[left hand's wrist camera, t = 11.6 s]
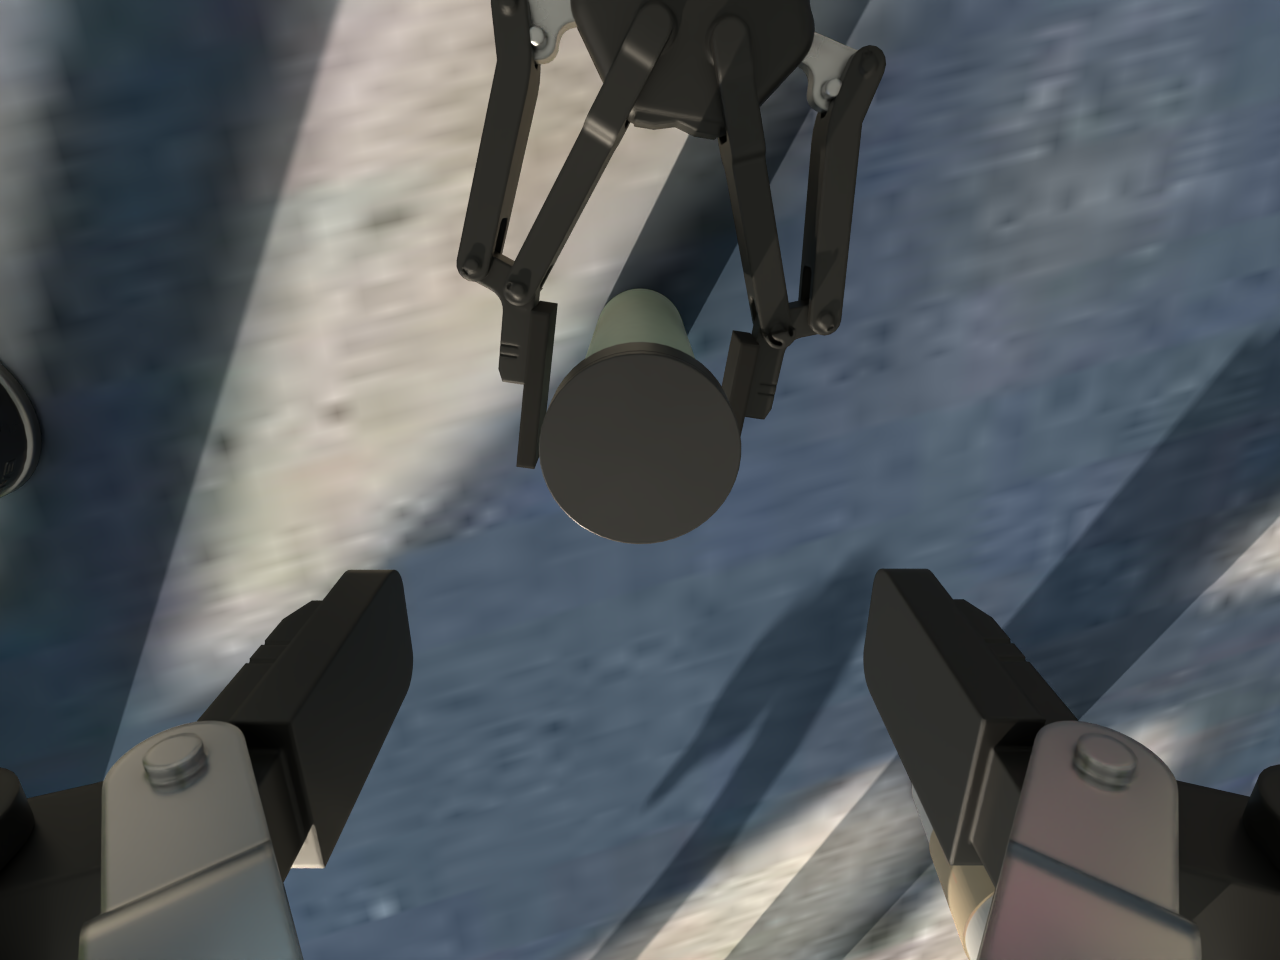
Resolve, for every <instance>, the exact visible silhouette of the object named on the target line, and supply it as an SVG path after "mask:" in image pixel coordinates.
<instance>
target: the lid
mask: <svg viewBox="0 0 1280 960" xmlns="http://www.w3.org/2000/svg"><path fill="white" fill-rule="evenodd" d="M539 457H540V465H541V469H542V473H543V477H544V479H545V482H546V484H547V487H548V489H549V491H550V492H551V494H552V496H553V498H554V499H555V501H556V502H557V503H558V505H559V506H560V507H561V509H562V510H563V511H564V512H565V513H566V514H567V515H568V516H569V517H570V518H571V519H573V520H574V521H575V522H576V523H578V524H579V525H580V526H582V527H584V528H585V529H587V530H588V531H590V532H592V533H594V534H597V535H599V536H601V537H604V538H607V539H610V540H613V541H618V542H623V543H631V544H651V543H657V542H663V541H667V540H670V539H674V538H677V537H679V536H681V535H684V534H686V533H688V532H690V531H692V530H693V529H695V528H697V527H698V526H700V525H701V524H702V523H704V522H705V521H706V520H708V519H709V518H710V517H711V516H712V515H713V514H714V513H715V512H716V511H717V510H718V509H719V507H720V506H721V505H722V504H723V502H724V501H725V499H726V498H727V496H728V495H729V493H730V491H731V489H732V487H733V485H734V483H735V480H736V477H737V474H738V470H739V466H740V459H741V438H740V431H739V427H738V423H737V420H736V417H735V415H734V412H733V410H732V408H731V405H730V403H729V401H728V398H727V396H726V394H725V392H724V390H723V388H722V387H721V385H720V383H719V382H718V380H717V379H716V378H715V377H714V376H713V374H712V373H711V372H710V371H709V370H708V369H707V368H706V367H705V366H704V365H703V364H702V363H700V362H699V361H697V360H696V359H695V358H693V357H692V356H690V355H688V354H686V353H684V352H682V351H681V350H678V349H675V348H673V347H670V346H667V345H662V344H658V343H650V342H629V343H623V344H617V345H614V346H611V347H607V348H604V349H602V350H600V351H598V352H596V353H594V354H592V355H590V356H589V357H587V358H586V359H584V360H583V361H581V362H580V363H579V364H578V365H577V366H575V367H574V368H573V369H572V370H571V371H570V372H569V373H568V375H567V376H566V377H565V378H564V379H563V381H562V382H561V384H560V385H559V387H558V388H557V390H556V392H555V394H554V396H553V399H552V401H551V403H550V405H549V408H548V410H547V412H546V415H545V418H544V421H543V424H542V427H541V433H540V438H539Z"/></svg>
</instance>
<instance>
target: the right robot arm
mask: <svg viewBox="0 0 1280 960" xmlns="http://www.w3.org/2000/svg"><path fill="white" fill-rule="evenodd" d="M491 8H492V17H493V26H494V36H495V45H496V54H497V64H496V69H495V74H494V79H493V84H492V88H491V93H490V98H489V103H488V108H487V113H486V118H485V123H484V128H483V133H482V138H481V143H480V148H479V153H478V158H477V163H476V168H475V173H474V178H473V183H472V187H471V192H470V197H469V202H468V207H467V212H466V217H465V222H464V227H463V232H462V237H461V242H460V247H459V252H458V257H457V269H458V271H459V273H460V275H461V276H462V277H463V278H465V279H467V280H468V281H475V282H477V283H479V284H481V285H483V286H485V287H486V288H488V289H490V290H492V291H493V292H495V293H496V294H497V295H498V297H499V298H500V300H501V302H502V306H503V317H502V331H501V345H500V357H499V372H500V375H501V378H502V381H503V382H509V383H516V384H523V385H524V389H523V400H522V411H521V422H520V433H519V444H518V455H517V466H516V467H523V468H531V469H534V468H535V466H536V463H537V461H538V458H539V438H540V433H541V427H542V424H543V421H544V418H545V415H546V410H547V401H548V391H549V381H550V372H551V362H552V353H553V343H554V334H555V324H556V315H557V305H558V303H551V302H544V301H539V296H540V291H541V290H542V289H543V288H542V287H543V285H544V283H545V281H546V279H547V277H548V275H549V273H550V271H551V270H552V268H553V266H554V264H555V262H556V260H557V258H558V256H559V255H560V253H561V251H562V249H563V247H564V245H565V243H566V241H567V239H568V238H569V236H570V234H571V232H572V230H573V228H574V226H575V224H576V222H577V221H578V219H579V217H580V215H581V213H582V211H583V209H584V207H585V206H586V204H587V202H588V200H589V198H590V196H591V194H592V192H593V190H594V189H595V187H596V185H597V183H598V181H599V179H600V177H601V175H602V173H603V172H604V170H605V168H606V166H607V164H608V162H609V160H610V158H611V156H612V155H613V153H614V151H615V149H616V148H617V146H618V145H619V143H620V141H621V139H622V137H623V135H624V134H625V132H626V130H627V128H628V126H629V124H630V122H631V123H633V124H634V126H635V127H641V128H647V129H653V130H655V129H663V128H671V127H676V128H678V129H680V130H682V131H684V132H686V133H688V134H690V135H692V136H694V137H700V138H706V139H712V140H714V139H716V138H718V143H719V148H720V154H721V159H722V163H723V166H724V169H725V173H726V179H727V184H728V189H729V195H730V200H731V206H732V211H733V217H734V222H735V228H736V233H737V239H738V244H739V250H740V255H741V261H742V266H743V272H744V277H745V283H746V288H747V294H748V299H749V305H750V310H751V316H752V321H753V330H752V335H751V334H750V333H747V332H740V331H734V330H733V332H732V337H731V342H730V347H729V352H728V357H727V362H726V368H725V373H724V378H723V383H722V388H723V390H724V392H725V394H726V396H727V398H728V401H729V403H730V405H731V408H732V410H733V412H734V415H735V417H736V420H737V423H738V427H739V431H740V437H741V432H742V427H743V423H744V418H745V417H750V418H757V419H765V417H766V416H767V415H768V413H769V412H770V410H771V408H772V404H773V400H774V394H775V391H776V385H777V382H778V378H779V373H780V369H781V365H782V360H783V356H784V352H785V350H786V348H787V347H788V346H789V345H790V344H791V343H792V342H793V341H794V340H795V339H798V338H801V337H806V336H811V335H816V334H820V335H829V334H831V333H833V332H835V331H836V330H837V328H838V327H839V325H840V322H841V316H842V307H843V298H844V288H845V279H846V269H847V260H848V251H849V241H850V232H851V222H852V213H853V204H854V194H855V185H856V175H857V166H858V157H859V147H860V138H861V128H862V122H863V120H864V117H865V115H866V113H867V111H868V108H869V106H870V104H871V101H872V99H873V97H874V94H875V92H876V90H877V87H878V85H879V83H880V80H881V78H882V76H883V74H884V70H885V66H886V60H885V56H884V54H883V52H882V50H881V49H879V48H878V47H877V46H871V45H869V46H865V47H862V48H861V49H859V50H855V49H852V48H850V47H848V46H846V45H843V44H841V43H839V42H836V41H834V40H832V39H830V38H827V37H825V36H823V35H821V34H818V33H816V32H814V31H815V27H814V19H813V15H812V12H811V7H810V0H491ZM576 27H577V28H578V31H579V33H580V35H581V37H582V39H583V41H584V43H585V45H586V48H587V50H588V52H589V54H590V56H591V58H592V60H593V62H594V65H595V67H596V69H597V71H598V73H599V75H600V77H601V79H602V82H603V85H602V87H601V89H600V91H599V93H598V95H597V97H596V99H595V101H594V103H593V105H592V107H591V109H590V111H589V113H588V115H587V117H586V120H585V123H584V126H583V128H582V130H581V132H580V134H579V136H578V138H577V140H576V142H575V144H574V146H573V148H572V150H571V152H570V154H569V156H568V158H567V160H566V161H565V163H564V165H563V167H562V169H561V171H560V173H559V175H558V177H557V179H556V181H555V183H554V185H553V187H552V189H551V191H550V193H549V195H548V197H547V199H546V201H545V203H544V205H543V207H542V209H541V211H540V213H539V214H538V216H537V218H536V220H535V222H534V224H533V226H532V228H531V230H530V232H529V234H528V236H527V238H526V240H525V242H524V244H523V246H522V248H521V250H520V252H519V254H518V256H517V258H516V260H515V261H513V260H511V259H510V258H508V257H506V256H504V255H502V252H503V247H504V243H505V239H506V234H507V230H508V225H509V221H510V216H511V212H512V207H513V203H514V198H515V194H516V190H517V185H518V181H519V176H520V172H521V167H522V163H523V158H524V154H525V149H526V145H527V141H528V136H529V132H530V127H531V123H532V118H533V114H534V109H535V105H536V100H537V96H538V90H539V84H540V64H546V63H549V62H551V61H553V59H554V58H555V57H556V55H557V53H558V49H559V43H560V39H561V37H562V35H563V34H564V33H565V32H566V31H567V30H569V29H571V28H576ZM796 67H799V68H801V69H802V70H803V71H804V72H805V74H806V76H807V78H808V89H807V101H808V103H809V105H810V107H811V108H812V109H814V110H815V111H817V112H818V114H817V116H816V120H815V125H814V129H813V135H812V142H811V154H810V166H809V178H808V190H807V202H806V214H805V226H804V238H803V250H802V262H801V274H800V286H799V298H798V301H795V302H790V303H788V296H787V290H786V284H785V278H784V272H783V265H782V259H781V253H780V247H779V241H778V234H777V228H776V222H775V216H774V210H773V203H772V197H771V191H770V185H769V179H768V173H767V166H766V159H765V153H766V147H765V139H764V132H763V126H762V120H761V114H760V106H761V105H762V104H763V103H764V102H765V101H766V100H767V99H768V98H769V96H770V95H771V94H772V93H773V92H774V91H775V90H776V89H777V88H778V87H779V86H780V85H781V84H782V82H783V81H784V80H785V79H786V78H787V77H788V76H789V75H790V74H791V73H792V72H793V71H794V70H795V69H796Z"/></svg>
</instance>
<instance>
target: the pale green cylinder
mask: <svg viewBox="0 0 1280 960" xmlns="http://www.w3.org/2000/svg"><path fill="white" fill-rule="evenodd" d="M629 342H650V343H658V344H662V345H667V346H670V347H673V348H675V349H678V350H681V351H682V352H684V353H686V354H688V355H690V356H692V357H693V358H695V357H694V354H693V351H692V348H691V346H690V343H689V340H688V337H687V334H686V331H685V328H684V325H683V322H682V319H681V316H680V314H679V312H678V310H677V309H676V307H675V306H674V304H673V303H672V302H671V301H670V300H669V299H668V298H666V297H665V296H664V295H662V294H660V293H658V292H656V291H653V290H649V289H631V290H627V291H624V292H622V293H620V294H618V295H617V296H615V297H614V298H612V299H611V300H610V301H609V302H608V303H607V304H606V306H605V307H604V309H603V310H602V312H601V314H600V317H599V319H598V322H597V325H596V328H595V331H594V334H593V337H592V340H591V343H590V346H589V349H588V352H587V355H586V358H587V357H589V356H590V355H592V354H594V353H596V352H598V351H600V350H602V349H604V348H607V347H611V346H614V345H617V344H623V343H629ZM586 358H585V359H586Z"/></svg>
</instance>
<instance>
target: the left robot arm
mask: <svg viewBox="0 0 1280 960" xmlns="http://www.w3.org/2000/svg"><path fill="white" fill-rule="evenodd" d="M40 453H41V432H40V427H39V422H38V419H37V416H36V413H35V411H34V408H33V406H32V404H31V402H30V400H29V398H28V396H27V395H26V393H25V391H24V390H23V389H22V387H21V386H20V384H19V383H18V382H17V380H16V379H15V378H14V377H13V376H12V374H11V373H10V372H9V371H8V370H7V369H6V368H5V367H4V366H3V365H2V364H1V363H0V498H1V497H3V496H5V495H7V494H9V493H11V492H13V491H15V490H17V489H18V488H19V487H21V486H22V485H23V484H24V483H25V482H26V481H27V480H28V479H29V478H30V477H31V476H32V474H33V472H34V471H35V469H36V466H37V464H38V461H39V458H40ZM863 660H864V673H865V679H866V683H867V686H868V689H869V692H870V694H871V696H872V698H873V700H874V702H875V705H876V707H877V709H878V711H879V713H880V715H881V717H882V720H883V722H884V724H885V726H886V728H887V730H888V733H889V735H890V737H891V739H892V741H893V743H894V746H895V748H896V750H897V752H898V754H899V756H900V758H901V761H902V763H903V765H904V767H905V769H906V771H907V774H908V776H909V778H910V780H911V782H912V784H913V787H914V789H915V791H916V793H917V795H918V797H919V799H920V802H921V804H922V806H923V808H924V810H925V812H926V815H927V817H928V819H929V821H930V823H931V825H932V828H933V830H934V832H935V834H936V836H937V838H938V840H939V843H940V845H941V847H942V849H943V851H944V853H945V856H946V858H947V860H948V862H949V864H950V866H984V868H985V870H986V871H987V873H988V875H989V877H990V879H991V881H992V883H993V885H994V887H995V891H994V895H993V898H992V902H991V906H990V910H989V914H988V918H987V921H986V925H985V929H984V933H983V937H982V941H981V945H980V948H979V952H978V956H977V960H1280V765H1275V766H1270V767H1268V768H1266V769H1264V770H1263V771H1262V772H1261V773H1260V775H1259V777H1258V780H1257V782H1256V784H1255V787H1254V789H1253V791H1252V794H1251V796H1250V797H1248V796H1244V795H1239V794H1235V793H1231V792H1226V791H1222V790H1217V789H1213V788H1208V787H1204V786H1199V785H1195V784H1190V783H1186V782H1181V781H1177V780H1176V779H1175V777H1174V775H1173V773H1172V772H1171V771H1170V769H1169V768H1168V766H1167V765H1166V764H1165V763H1164V762H1163V761H1162V760H1161V759H1160V758H1159V757H1158V756H1157V755H1156V754H1154V753H1153V752H1152V751H1151V750H1149V749H1148V748H1146V747H1145V746H1144V745H1142V744H1141V743H1139V742H1137V741H1135V740H1134V739H1132V738H1130V737H1128V736H1126V735H1124V734H1122V733H1120V732H1117V731H1115V730H1112V729H1110V728H1107V727H1104V726H1100V725H1097V724H1092V723H1088V722H1081V721H1078V720H1077V718H1076V717H1075V716H1074V715H1073V714H1072V712H1071V711H1070V710H1069V709H1068V708H1067V706H1066V705H1065V704H1064V703H1063V702H1062V700H1061V699H1060V698H1059V697H1058V696H1057V694H1056V693H1055V692H1054V691H1053V690H1052V688H1051V687H1050V686H1049V685H1048V684H1047V682H1046V681H1045V680H1044V679H1043V678H1042V676H1041V675H1040V674H1039V673H1038V672H1037V671H1036V669H1035V668H1034V667H1033V666H1032V665H1031V663H1030V662H1026V661H1025V656H1024V655H1023V654H1022V653H1021V651H1020V650H1019V649H1018V648H1017V647H1016V645H1015V644H1014V643H1010V638H1009V637H1008V636H1007V635H1006V633H1005V632H1004V631H1003V630H1002V629H1001V627H1000V626H999V625H998V624H997V623H996V621H995V620H994V619H993V618H992V617H990V616H989V615H987V614H986V613H984V612H983V611H981V610H980V609H978V608H976V607H975V606H973V605H972V604H970V603H969V602H967V601H966V600H964V599H952V598H951V596H950V595H949V594H948V592H947V591H946V590H945V588H944V587H943V586H942V585H941V583H940V582H939V581H938V579H937V578H936V577H935V576H934V574H933V573H932V572H931V571H930V570H928V569H879V570H878V572H877V573H876V575H875V578H874V583H873V589H872V596H871V603H870V610H869V617H868V624H867V631H866V638H865V645H864V656H863ZM412 669H413V651H412V643H411V637H410V630H409V623H408V616H407V609H406V602H405V595H404V588H403V582H402V579H401V576H400V574H399V572H398V571H397V570H348V571H346V572H345V573H344V574H343V575H342V577H341V578H340V579H339V580H338V582H337V583H336V584H335V585H334V587H333V588H332V589H331V591H330V592H329V593H328V594H327V596H326V597H325V598H324V599H323V601H311V602H309V603H307V604H306V605H304V606H303V607H301V608H300V609H298V610H296V611H295V612H293V613H292V614H290V615H289V616H287V617H286V618H284V619H283V620H282V621H281V622H280V623H279V625H278V626H277V627H276V628H275V629H274V630H273V632H272V633H271V634H270V635H269V636H268V638H267V639H266V640H265V645H261V646H260V647H259V648H258V649H257V651H256V652H255V653H254V654H253V655H252V657H251V658H250V662H249V663H246V664H245V665H244V666H243V667H242V668H241V670H240V671H239V672H238V673H237V674H236V675H235V677H234V678H233V679H232V680H231V681H230V683H229V684H228V685H227V686H226V687H225V689H224V690H223V691H222V692H221V693H220V694H219V696H218V697H217V698H216V699H215V700H214V702H213V703H212V704H211V705H210V706H209V707H208V709H207V710H206V711H205V712H204V713H203V715H202V716H201V717H200V718H199V719H198V720H197V722H192V723H188V724H183V725H180V726H176V727H173V728H170V729H168V730H165V731H163V732H160V733H158V734H156V735H154V736H152V737H150V738H148V739H146V740H145V741H143V742H141V743H139V744H138V745H136V746H135V747H134V748H132V749H131V750H129V751H128V752H127V753H126V754H124V755H123V756H122V757H121V758H120V759H119V760H118V761H117V762H116V763H115V764H114V765H113V766H112V768H111V769H110V771H109V772H108V773H107V775H106V777H105V779H104V781H102V782H98V783H94V784H90V785H85V786H81V787H76V788H72V789H67V790H63V791H58V792H54V793H49V794H45V795H40V796H36V797H31V798H26V796H25V793H24V791H23V789H22V786H21V784H20V782H19V779H18V777H17V776H16V775H15V774H14V772H12V771H10V770H8V769H5V768H0V960H303V956H302V952H301V948H300V945H299V941H298V937H297V933H296V929H295V925H294V921H293V918H292V914H291V910H290V906H289V902H288V898H287V895H286V891H285V887H284V883H283V882H284V880H285V878H286V877H287V875H288V873H289V871H290V869H291V868H325V866H326V864H327V862H328V860H329V858H330V856H331V853H332V851H333V849H334V847H335V845H336V843H337V841H338V838H339V836H340V834H341V832H342V830H343V828H344V826H345V824H346V821H347V819H348V817H349V815H350V813H351V811H352V809H353V807H354V804H355V802H356V800H357V798H358V796H359V794H360V792H361V790H362V787H363V785H364V783H365V781H366V779H367V777H368V775H369V772H370V770H371V768H372V766H373V764H374V762H375V760H376V758H377V755H378V753H379V751H380V749H381V747H382V745H383V743H384V741H385V738H386V736H387V734H388V732H389V730H390V728H391V726H392V723H393V721H394V719H395V717H396V715H397V713H398V711H399V709H400V706H401V704H402V702H403V700H404V698H405V696H406V694H407V691H408V689H409V686H410V682H411V677H412Z"/></svg>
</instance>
